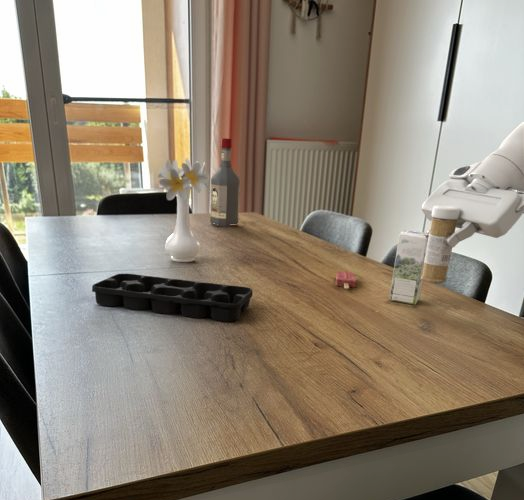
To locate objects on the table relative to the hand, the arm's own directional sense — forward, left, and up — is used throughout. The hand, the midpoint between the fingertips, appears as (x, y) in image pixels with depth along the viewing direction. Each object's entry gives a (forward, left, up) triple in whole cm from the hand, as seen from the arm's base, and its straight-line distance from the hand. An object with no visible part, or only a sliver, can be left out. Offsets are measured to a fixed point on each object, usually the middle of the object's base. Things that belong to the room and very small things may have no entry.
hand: (437, 241), depth 92 cm
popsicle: (+8, -26, -16) cm, 31 cm away
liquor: (+33, -108, -16) cm, 114 cm away
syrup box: (-2, -14, -16) cm, 21 cm away
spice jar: (-1, 0, -8) cm, 8 cm away
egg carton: (+47, -7, -16) cm, 50 cm away
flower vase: (+46, -46, -16) cm, 67 cm away
